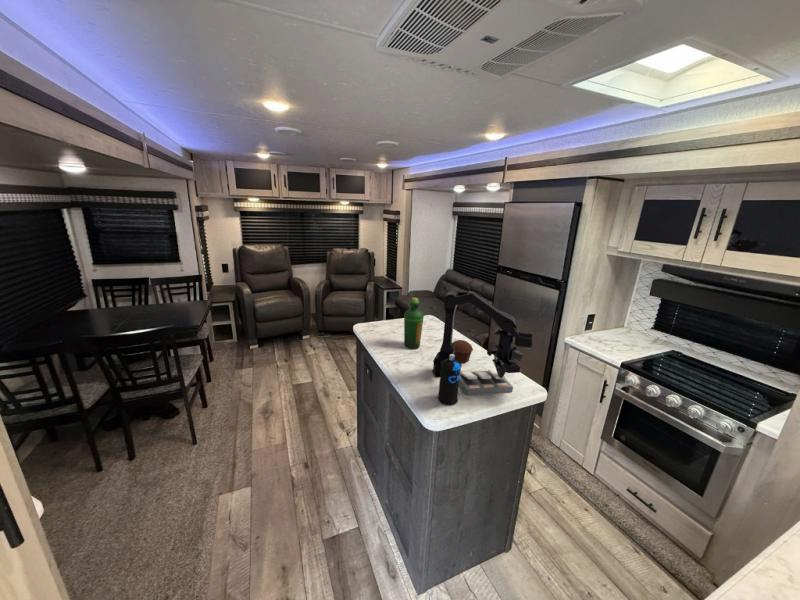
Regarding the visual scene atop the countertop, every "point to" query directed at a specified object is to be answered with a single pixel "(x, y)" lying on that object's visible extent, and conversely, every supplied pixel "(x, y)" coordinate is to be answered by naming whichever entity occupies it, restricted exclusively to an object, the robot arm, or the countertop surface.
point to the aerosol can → (449, 381)
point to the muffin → (462, 351)
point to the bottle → (413, 325)
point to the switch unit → (484, 385)
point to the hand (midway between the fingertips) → (500, 377)
